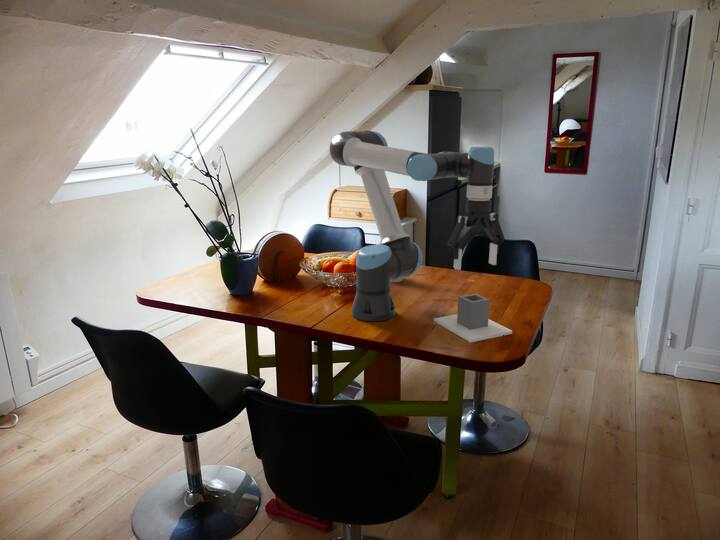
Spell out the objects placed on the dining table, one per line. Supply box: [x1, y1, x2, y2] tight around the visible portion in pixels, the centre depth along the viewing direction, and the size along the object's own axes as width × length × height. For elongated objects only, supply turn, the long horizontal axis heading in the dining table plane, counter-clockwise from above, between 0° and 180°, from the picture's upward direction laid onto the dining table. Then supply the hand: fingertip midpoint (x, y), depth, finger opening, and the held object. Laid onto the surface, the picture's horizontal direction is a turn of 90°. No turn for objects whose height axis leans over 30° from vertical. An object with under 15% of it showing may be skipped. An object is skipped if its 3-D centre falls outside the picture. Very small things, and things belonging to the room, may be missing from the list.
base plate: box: [433, 313, 513, 344], centre depth 177 cm, size 16×20×7 cm
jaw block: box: [457, 293, 490, 330], centre depth 176 cm, size 7×7×9 cm
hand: (475, 266), depth 172 cm, fingers open, 13 cm apart
